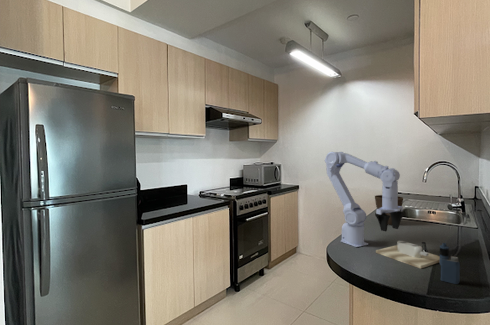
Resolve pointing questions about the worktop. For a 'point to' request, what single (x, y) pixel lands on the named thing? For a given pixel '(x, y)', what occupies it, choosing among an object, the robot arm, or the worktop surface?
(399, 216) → the robot arm
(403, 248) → the usb connector
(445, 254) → the vaping device
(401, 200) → the plant pot
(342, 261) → the worktop surface
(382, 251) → the wood pad
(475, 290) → the worktop surface
